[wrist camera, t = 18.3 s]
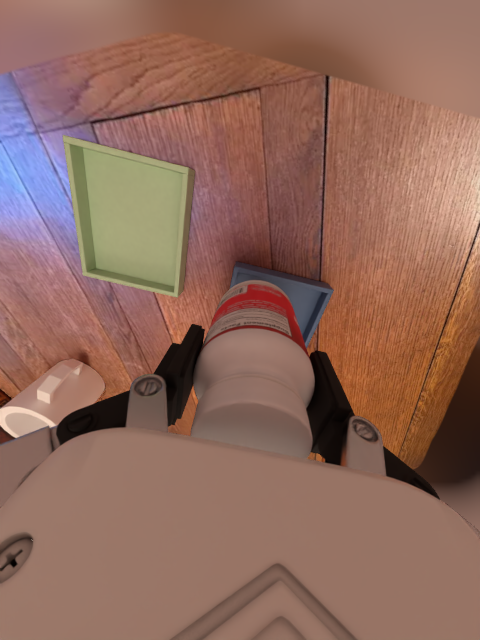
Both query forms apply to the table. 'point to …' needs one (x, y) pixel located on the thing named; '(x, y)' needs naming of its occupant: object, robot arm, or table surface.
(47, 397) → the mug
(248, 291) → the pill bottle
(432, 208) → the table surface
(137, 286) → the tray
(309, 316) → the block tray
